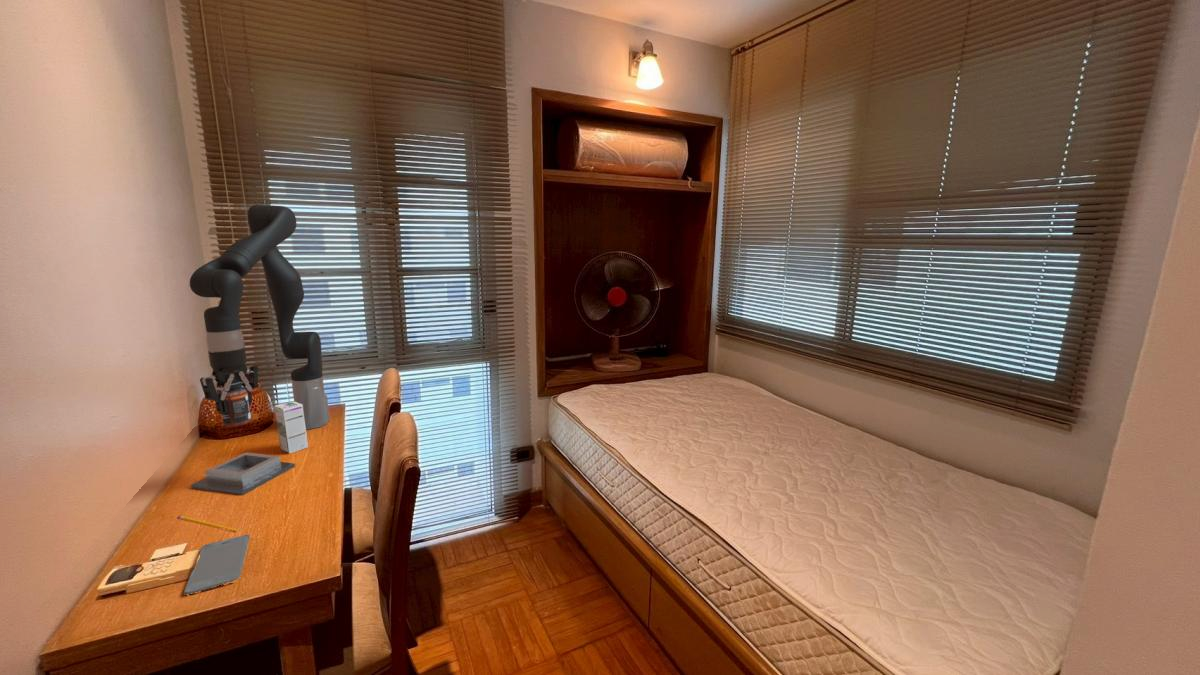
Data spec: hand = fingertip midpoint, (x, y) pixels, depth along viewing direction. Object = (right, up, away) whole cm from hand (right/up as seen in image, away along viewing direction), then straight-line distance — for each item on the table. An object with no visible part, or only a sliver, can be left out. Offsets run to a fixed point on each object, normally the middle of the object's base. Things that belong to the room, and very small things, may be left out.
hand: (235, 408), depth 124 cm
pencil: (+8, -24, -18) cm, 31 cm away
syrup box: (+2, -16, +21) cm, 27 cm away
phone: (+21, -27, -31) cm, 46 cm away
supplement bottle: (0, -4, +1) cm, 4 cm away
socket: (0, -19, +4) cm, 19 cm away
